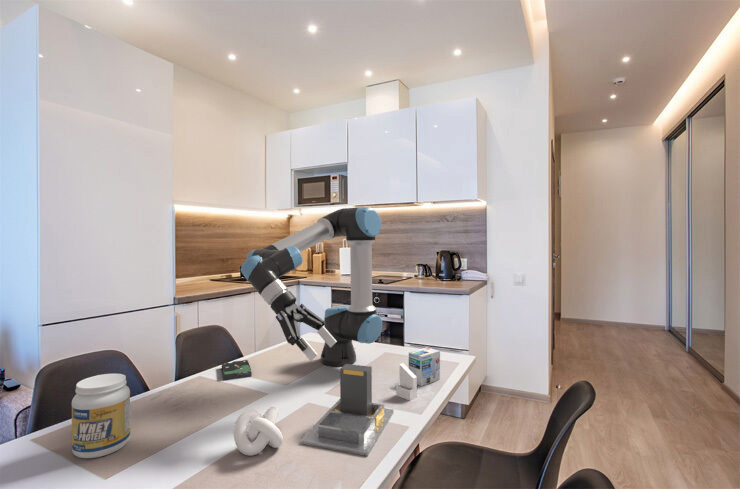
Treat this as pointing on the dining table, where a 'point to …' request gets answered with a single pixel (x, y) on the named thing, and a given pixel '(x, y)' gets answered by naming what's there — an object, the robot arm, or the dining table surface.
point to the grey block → (356, 389)
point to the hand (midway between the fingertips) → (324, 350)
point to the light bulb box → (425, 365)
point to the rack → (349, 430)
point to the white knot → (257, 431)
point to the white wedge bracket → (407, 384)
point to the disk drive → (236, 370)
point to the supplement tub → (100, 415)
